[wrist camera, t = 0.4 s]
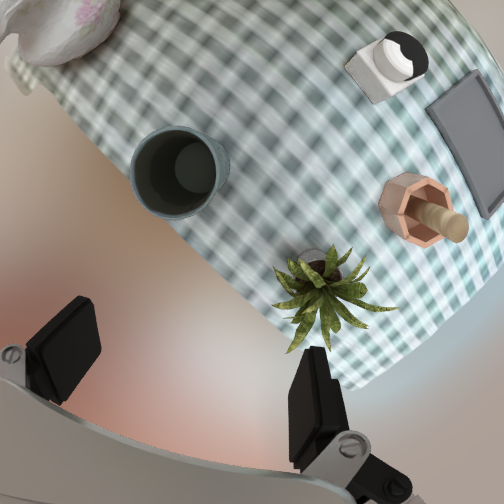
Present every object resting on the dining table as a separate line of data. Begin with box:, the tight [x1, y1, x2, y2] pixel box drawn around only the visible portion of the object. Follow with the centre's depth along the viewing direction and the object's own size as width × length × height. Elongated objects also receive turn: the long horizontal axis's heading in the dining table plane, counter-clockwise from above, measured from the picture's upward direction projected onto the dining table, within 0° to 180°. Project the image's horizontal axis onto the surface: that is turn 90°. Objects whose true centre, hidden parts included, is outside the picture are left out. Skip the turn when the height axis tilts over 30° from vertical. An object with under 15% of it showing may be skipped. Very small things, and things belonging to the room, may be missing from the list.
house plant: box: [272, 243, 398, 353], centre depth 34 cm, size 14×14×16 cm
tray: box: [425, 69, 504, 220], centre depth 31 cm, size 22×16×2 cm
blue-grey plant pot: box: [130, 126, 230, 220], centre depth 32 cm, size 10×10×12 cm
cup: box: [378, 172, 453, 248], centre depth 34 cm, size 9×9×7 cm
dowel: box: [403, 195, 469, 243], centre depth 30 cm, size 3×3×14 cm
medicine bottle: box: [344, 31, 429, 104], centre depth 25 cm, size 7×7×12 cm
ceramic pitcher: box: [0, 0, 121, 67], centre depth 18 cm, size 22×20×25 cm
